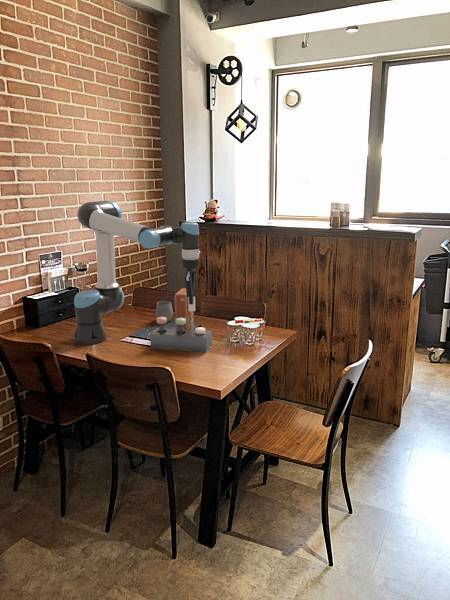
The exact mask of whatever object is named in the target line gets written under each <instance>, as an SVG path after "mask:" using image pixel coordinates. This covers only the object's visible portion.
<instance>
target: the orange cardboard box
mask: <svg viewBox="0 0 450 600" xmlns="http://www.w3.org/2000/svg"><path fill="white" fill-rule="evenodd" d="M186 296H187V293H186V287H183V288H181V289H180V290H179V291H177V292H175V294H174V315H175V319H177V318H185V319H186V324H184V325H183V327H184V329H192V330H195V328H194V322H195V321H194V311H189V308H188V297H186ZM175 326H176V327H175V329H178V325H177V324H176V323H175Z"/></svg>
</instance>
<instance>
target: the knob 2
mask: <svg viewBox="0 0 450 600" xmlns="http://www.w3.org/2000/svg"><path fill="white" fill-rule="evenodd" d="M194 330H195V334H198V335H203V334H205V330H206V327H201V326H200V327H199V326H198V327H195V328H194Z"/></svg>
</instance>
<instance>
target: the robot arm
mask: <svg viewBox="0 0 450 600" xmlns="http://www.w3.org/2000/svg"><path fill="white" fill-rule="evenodd" d="M122 216H123V214H122V210H121V208H120V206H119V205H118V204H117V203H116V202H114V201H112V200H96V201H88V202H85V203H83V204H82V205H80V207H79V208H78V210H77V221H78V222H79V224H80V225H81V226H82V227H84V228H87V229H89V230H92V231H93V232H94V234H95V244H96V245H95V249H96V268H97V269H96V270H97V283H96V284H95V285H94V289H86V290H81V291H79V292H77V293H76V294H75V295H74V301H73V303H74V304H73V305H74V311H75V322H76V323H75V325H76V326H75V329H74V330H75V331H74V334H73V342H74V343H75V344H77V345H96V344H99V343H103V342H105V341H106V340H107V339H108V338H107V333H106V330H105V327H104V325H103V322H102V316H103V315H104V314H105V315H106V314H107V313H111V312H115V311H117V310H118V309H120V308H121V307H122V306H123V305H124V302H125V293H124V291H123V290H122V288H121V287H120V284H119V283H118V281H117V279H116V251H115V250H116V248H115V246H116V245H115V236H118V237H121V238H123V239H125V240H126V239H127V240H129V241H133V242H136V243H139V244H140V245H141V246H142V247H143V248H144V249H154V248H157V247H162V246H166V245H171V244H172V245H181V258H182V261H181V265H182V268H183V269H186V272H185V276H184V283H185V288H186V293H187V296H186V297H188V308H189V311H193V312H195V311H196V296H198V294H197V283H198V280H197V279H198V271H197V270H196V269H198V268H200V263H201V262H200V259H199V258H200V254H201V251H200V228H199V227H200V226H199V224H198V223H197V222H189V221H188V222H187V221H186V222H182V223H181V225H180V226H170V225H161V226H159V227H158V228H152V227H149V226H146V225H143V224H140V223H137V222H133V221H131V220H127V219H124V218H122Z"/></svg>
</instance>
